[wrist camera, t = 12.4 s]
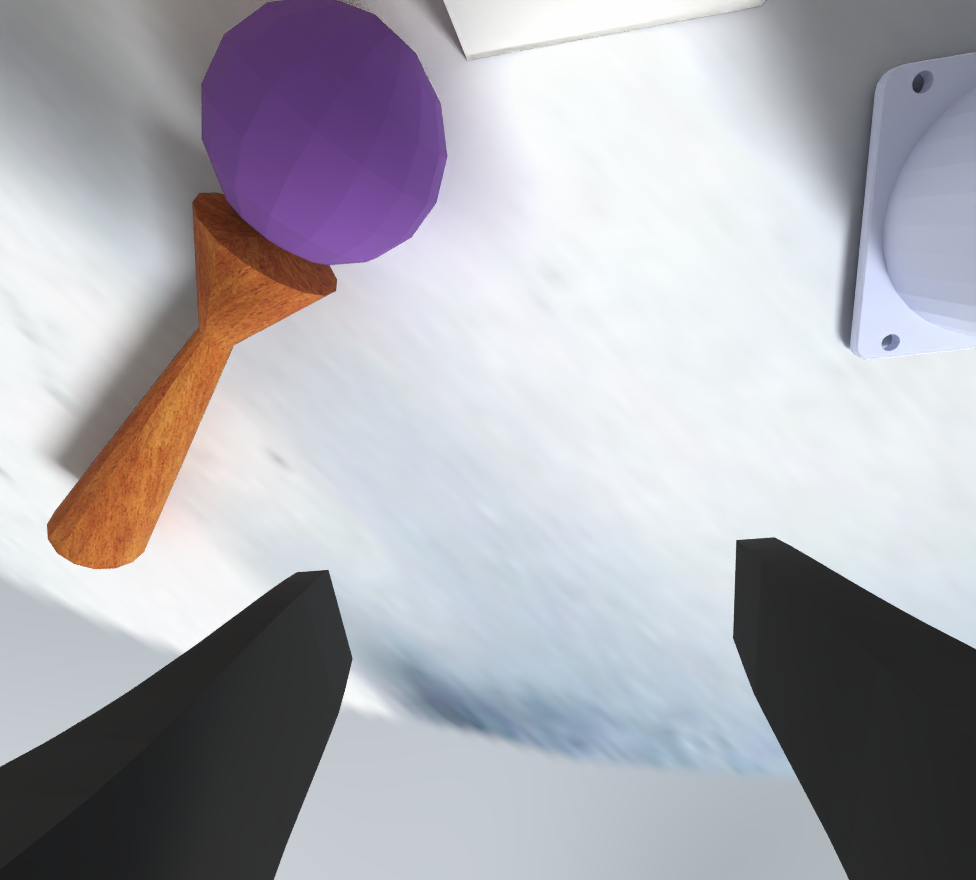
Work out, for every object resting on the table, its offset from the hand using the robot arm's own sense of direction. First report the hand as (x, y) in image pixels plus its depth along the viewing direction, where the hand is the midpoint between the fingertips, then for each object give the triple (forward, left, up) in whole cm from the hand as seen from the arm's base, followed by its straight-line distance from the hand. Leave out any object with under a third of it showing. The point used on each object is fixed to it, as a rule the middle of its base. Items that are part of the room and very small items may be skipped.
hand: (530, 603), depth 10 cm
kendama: (+9, -4, -11) cm, 15 cm away
